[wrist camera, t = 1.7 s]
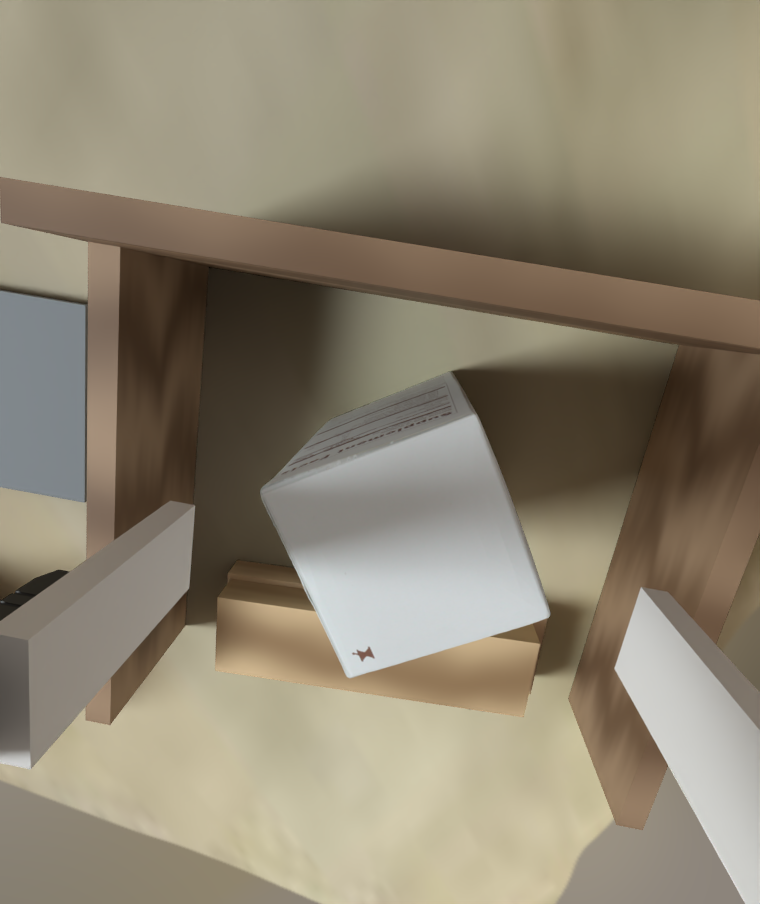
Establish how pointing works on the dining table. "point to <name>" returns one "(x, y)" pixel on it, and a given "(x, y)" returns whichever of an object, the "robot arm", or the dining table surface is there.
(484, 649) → the offcut stack
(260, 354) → the dining table surface
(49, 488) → the slate mat
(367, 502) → the supplement box
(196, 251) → the walnut rack
